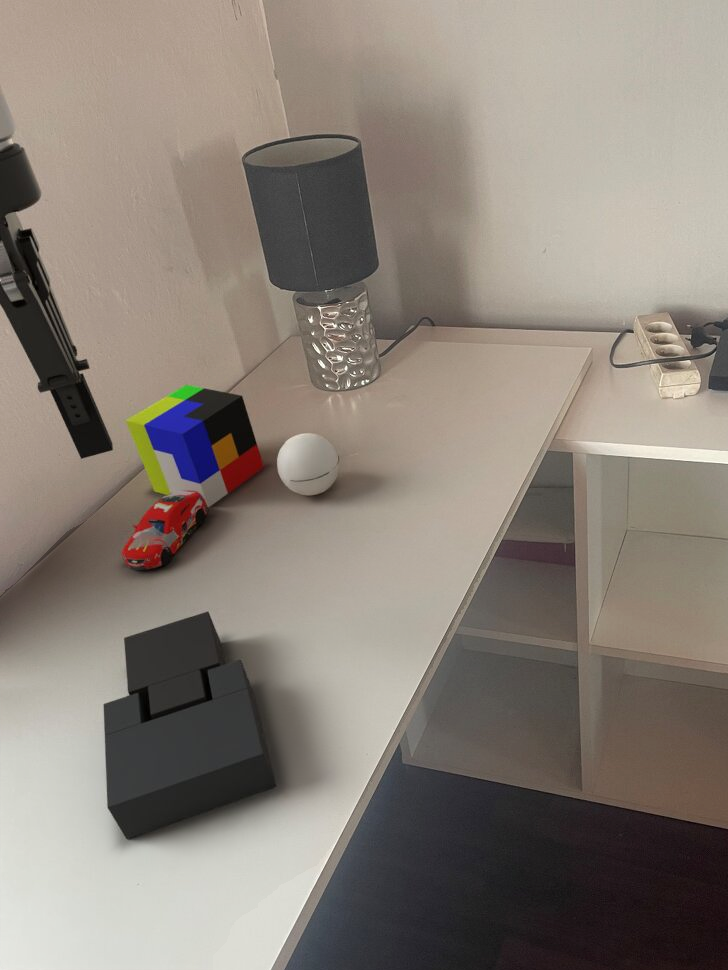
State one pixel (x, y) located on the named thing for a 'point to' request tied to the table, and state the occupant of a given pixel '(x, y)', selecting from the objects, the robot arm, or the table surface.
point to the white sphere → (308, 464)
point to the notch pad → (184, 755)
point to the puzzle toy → (196, 442)
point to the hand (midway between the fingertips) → (96, 450)
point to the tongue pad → (173, 664)
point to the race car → (164, 529)
